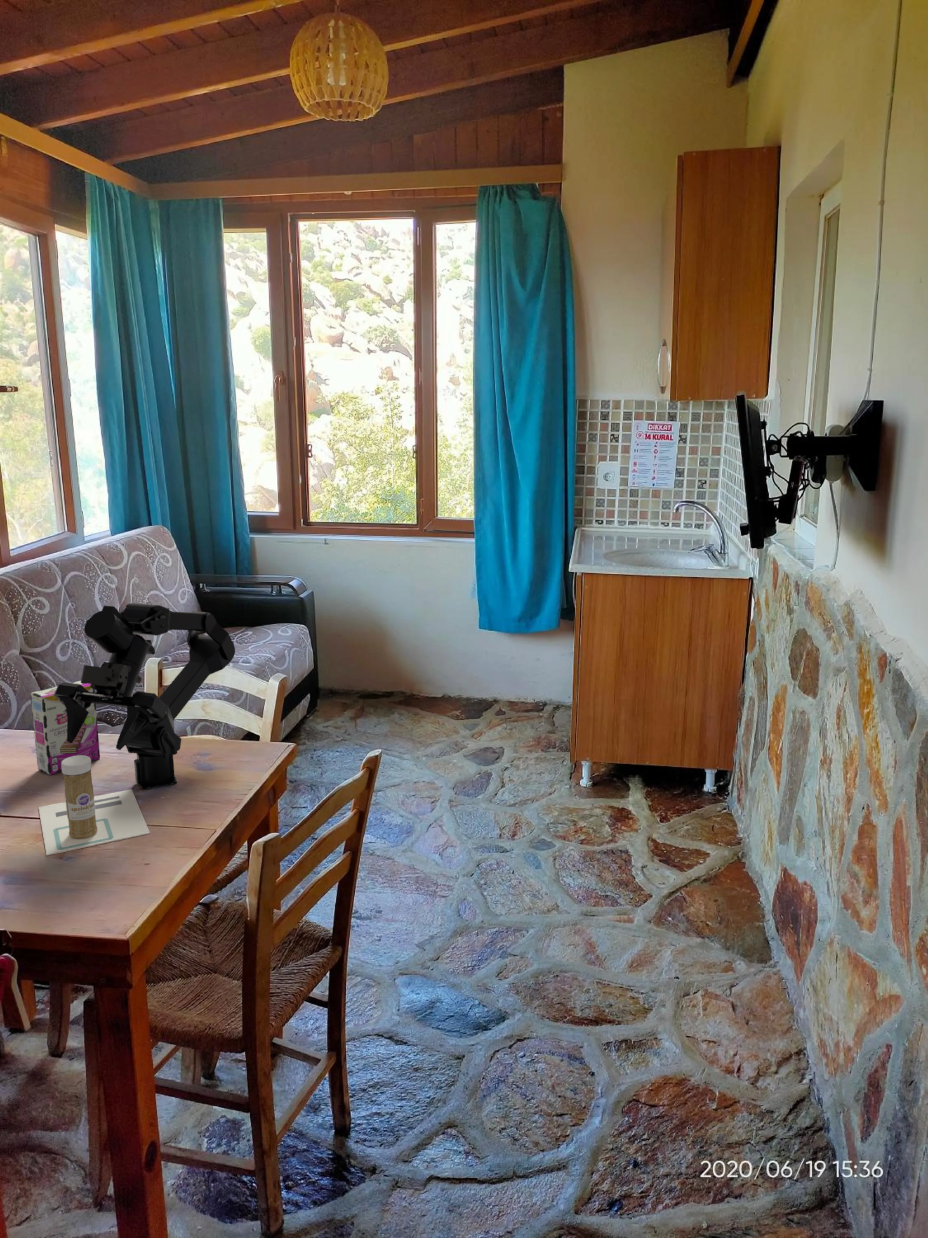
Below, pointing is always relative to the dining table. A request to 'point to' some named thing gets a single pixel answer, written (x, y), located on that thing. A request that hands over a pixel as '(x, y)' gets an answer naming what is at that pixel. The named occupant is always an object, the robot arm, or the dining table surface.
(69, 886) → the dining table surface
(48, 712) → the candy bar box
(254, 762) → the dining table surface
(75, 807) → the sprinkles bottle
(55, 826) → the paper sheet
